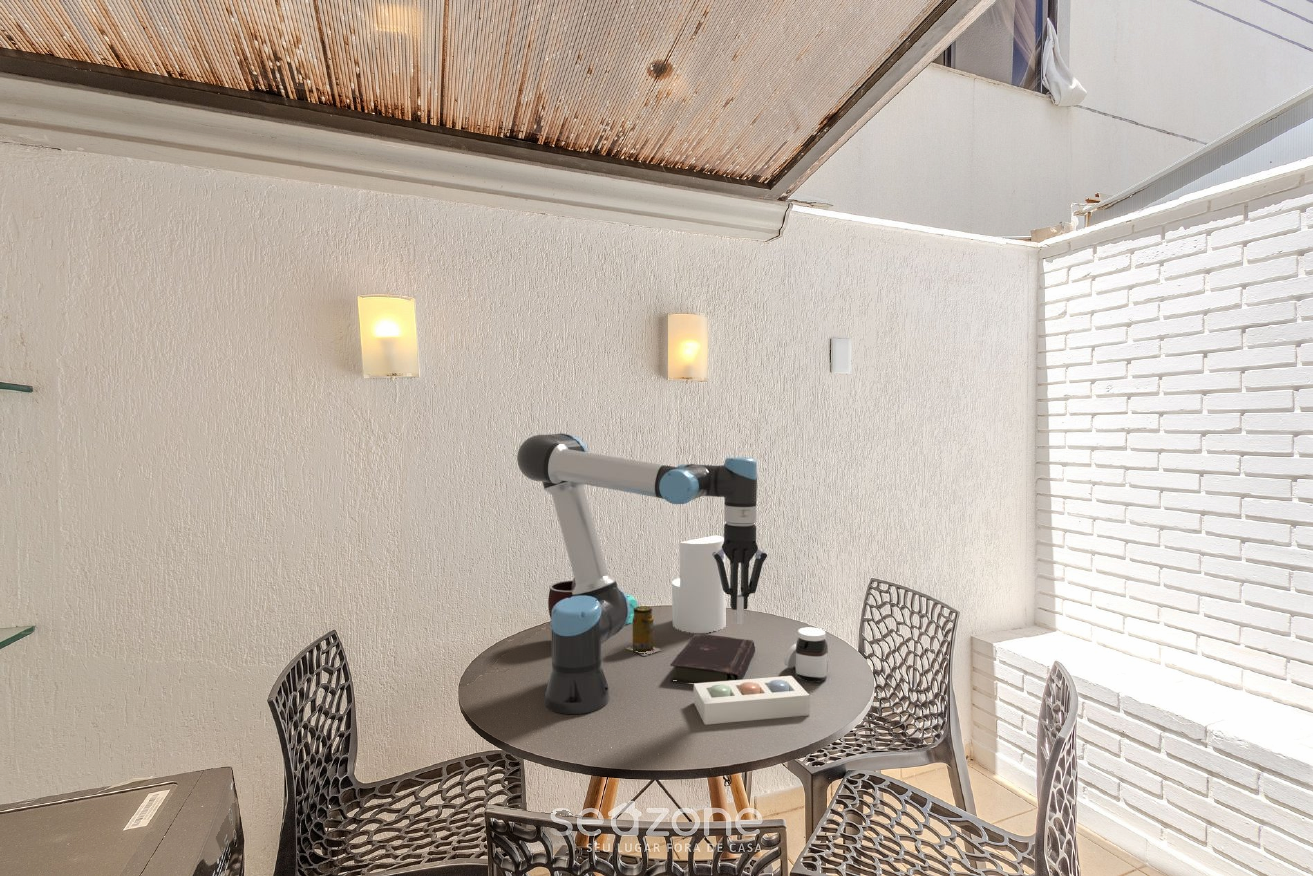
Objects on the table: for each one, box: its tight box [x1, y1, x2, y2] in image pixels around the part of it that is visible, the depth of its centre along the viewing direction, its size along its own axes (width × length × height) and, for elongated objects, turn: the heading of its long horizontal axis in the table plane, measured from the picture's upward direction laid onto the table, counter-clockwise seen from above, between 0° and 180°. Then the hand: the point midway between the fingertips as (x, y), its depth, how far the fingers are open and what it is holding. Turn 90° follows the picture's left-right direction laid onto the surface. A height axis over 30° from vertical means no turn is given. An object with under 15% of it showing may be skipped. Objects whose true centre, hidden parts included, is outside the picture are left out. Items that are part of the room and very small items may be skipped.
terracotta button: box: [740, 682, 760, 695], centre depth 144 cm, size 4×4×3 cm
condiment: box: [626, 605, 661, 657], centre depth 183 cm, size 7×8×12 cm
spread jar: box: [783, 626, 829, 683], centre depth 164 cm, size 12×11×12 cm
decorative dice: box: [625, 594, 639, 626], centre depth 210 cm, size 8×8×8 cm
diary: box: [669, 633, 756, 684], centre depth 169 cm, size 19×25×5 cm
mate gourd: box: [547, 577, 576, 619], centre depth 191 cm, size 16×14×20 cm
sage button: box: [711, 684, 730, 698], centre depth 143 cm, size 4×4×3 cm
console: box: [693, 675, 811, 725], centre depth 144 cm, size 24×11×4 cm, turn 99°
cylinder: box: [671, 534, 727, 634], centre depth 205 cm, size 17×17×28 cm
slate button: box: [770, 680, 789, 693], centre depth 145 cm, size 4×4×3 cm
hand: (738, 622), depth 149 cm, fingers closed
